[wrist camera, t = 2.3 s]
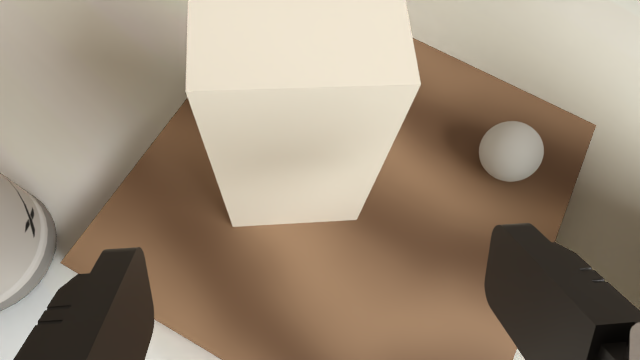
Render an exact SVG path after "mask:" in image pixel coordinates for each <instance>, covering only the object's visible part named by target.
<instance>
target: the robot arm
mask: <svg viewBox="0 0 640 360" xmlns="http://www.w3.org/2000/svg"><path fill="white" fill-rule="evenodd" d="M484 287H485V295H486V299H487V302H488V304H489V306H490V308H491V310H492V311H493V313H494V314H495V316H496V317H497V319H498V320H499V321H500V323H501V324H502V326H503V327H504V329H505V330H506V332H507V333H508V335H509V336H510V338H511V339H512V341H513V342H514V344H515V345H516V347H517V348H518V350H519V351H520V353H521V354H522V356H523V357H524V358H525V360H640V311H639V310H638V309H637V308H636V307H635V306H634V305H632V304H631V303H630V302H629V301H628V300H627V299H626V298H625V297H624V296H622V295H621V294H620V293H619V292H618V291H617V290H616V289H615V288H614V287H613V286H611V285H610V284H609V283H608V282H605V281H604V278H603V277H601V276H600V275H599V274H598V273H597V272H596V271H595V270H592V269H591V267H590V266H589V265H588V264H587V263H586V262H585V261H584V260H583V259H581V258H580V257H579V256H578V255H577V254H576V253H574V252H572V251H570V250H568V249H566V248H564V247H563V246H561V245H559V244H557V243H555V242H550V241H549V240H548V239H547V238H546V237H545V236H544V235H543V234H542V233H541V232H540V231H539V230H538V229H537V228H536V227H534V226H533V225H532V224H530V223H518V224H503V225H496V226H495V227H494V229H493V231H492V235H491V241H490V247H489V254H488V261H487V268H486V274H485V282H484ZM153 328H154V305H153V299H152V294H151V288H150V283H149V277H148V272H147V266H146V261H145V256H144V252H143V250H142V248H140V247H133V248H118V249H105V250H103V251H102V253H101V254H100V256H99V258H98V260H97V261H96V263H95V265H94V267H93V268H92V270H91V272H90V273H86V274H78V275H76V276H75V277H74V278H72V279H71V280H70V281H69V282H67V283H66V284H65V285H64V286H62V287H61V288H60V289H58V291H57V292H56V294H55V296H54V297H53V299H52V300H51V302H50V303H49V305H48V307H47V310H45V311H44V313H43V314H42V316H41V317H40V319H39V321H38V325H35V327H34V328H33V330H32V331H31V333H30V335H29V336H28V338H27V339H26V341H25V342H24V344H23V345H22V347H21V349H20V350H19V352H18V353H17V355H16V356H15V358H14V359H13V360H145V357H146V353H147V350H148V347H149V343H150V340H151V337H152V333H153Z"/></svg>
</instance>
